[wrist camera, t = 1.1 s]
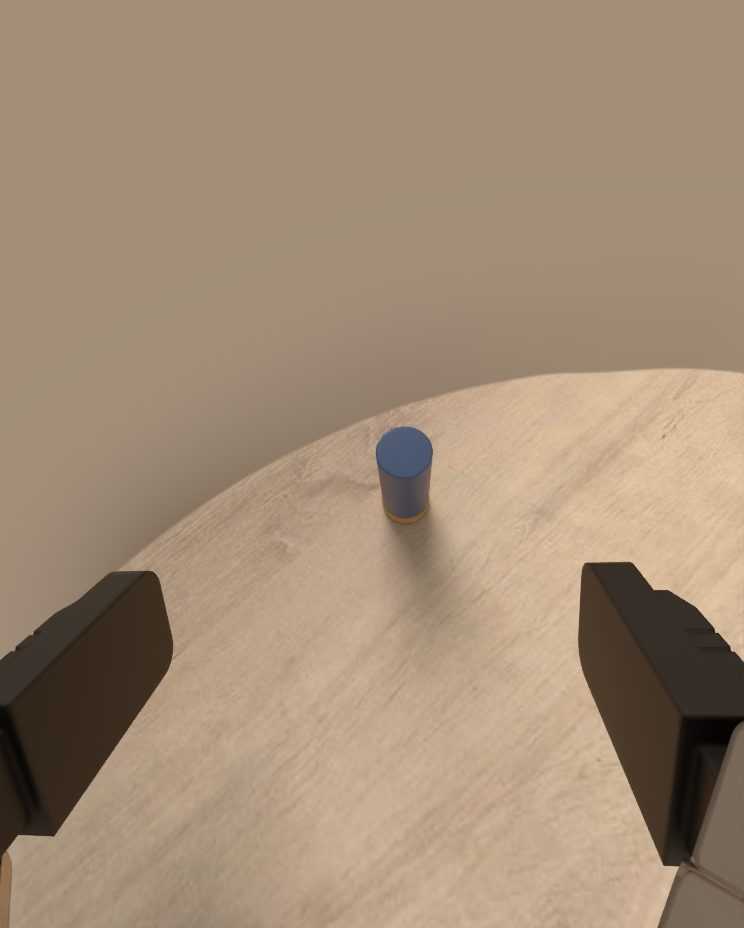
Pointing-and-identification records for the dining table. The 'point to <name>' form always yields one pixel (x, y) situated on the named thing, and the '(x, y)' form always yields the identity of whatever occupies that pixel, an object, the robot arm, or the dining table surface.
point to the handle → (404, 473)
